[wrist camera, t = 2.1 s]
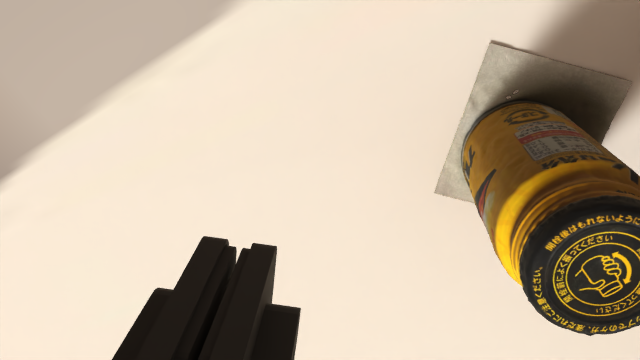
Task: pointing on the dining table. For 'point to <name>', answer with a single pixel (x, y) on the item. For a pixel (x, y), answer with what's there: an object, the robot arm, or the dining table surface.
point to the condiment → (552, 187)
